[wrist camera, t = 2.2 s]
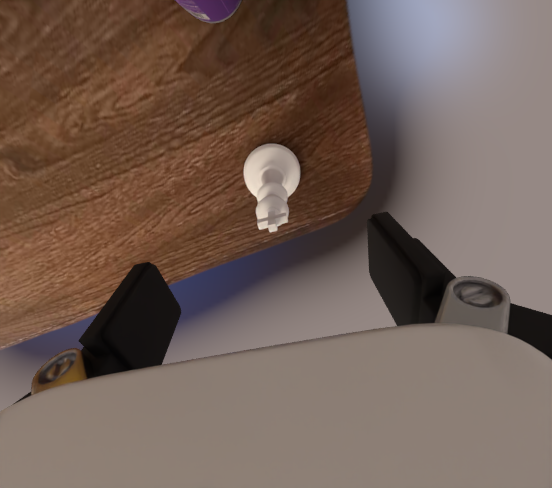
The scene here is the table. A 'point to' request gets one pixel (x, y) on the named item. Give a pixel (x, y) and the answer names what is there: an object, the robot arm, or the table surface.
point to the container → (210, 9)
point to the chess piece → (272, 182)
